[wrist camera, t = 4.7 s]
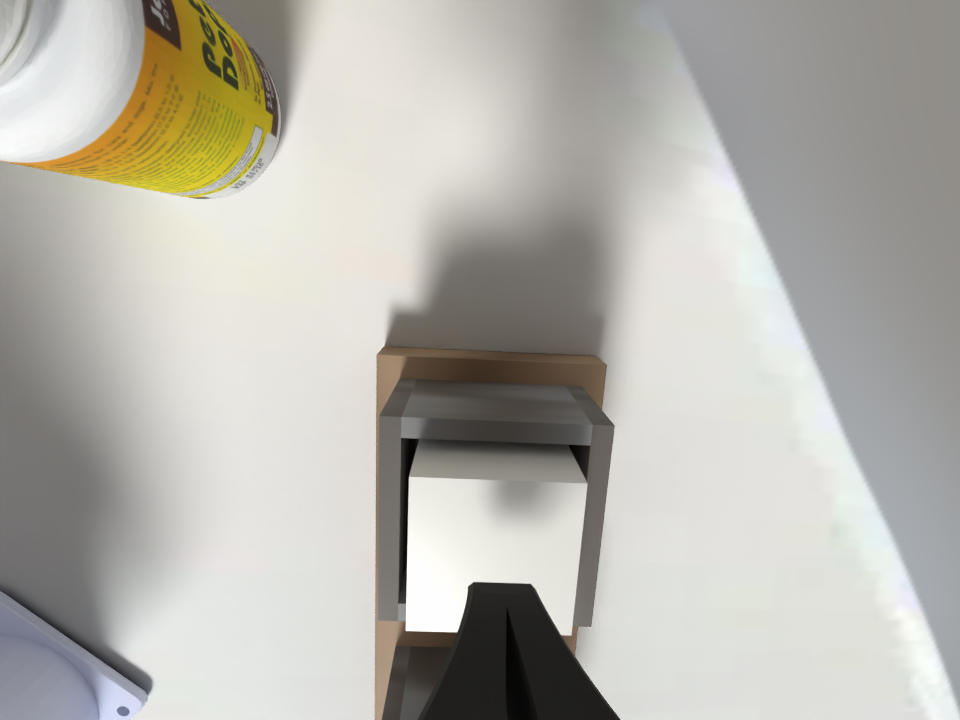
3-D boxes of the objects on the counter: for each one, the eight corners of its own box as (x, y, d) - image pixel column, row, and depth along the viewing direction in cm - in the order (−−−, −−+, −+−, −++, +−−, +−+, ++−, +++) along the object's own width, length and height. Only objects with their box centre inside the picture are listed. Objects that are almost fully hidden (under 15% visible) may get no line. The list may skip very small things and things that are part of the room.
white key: (415, 570, 15) (406, 630, 13) (419, 438, 14) (408, 476, 12) (555, 574, 15) (571, 635, 13) (568, 444, 15) (587, 483, 12)
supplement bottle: (321, 130, 17) (102, -48, 7) (204, 234, 17) (-154, 212, 7) (204, -19, 16) (-261, -488, 6) (84, 98, 16) (-523, -142, 6)
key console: (380, 753, 22) (353, 910, 17) (384, 346, 18) (348, 386, 13) (553, 756, 23) (580, 912, 17) (595, 356, 19) (647, 399, 13)
